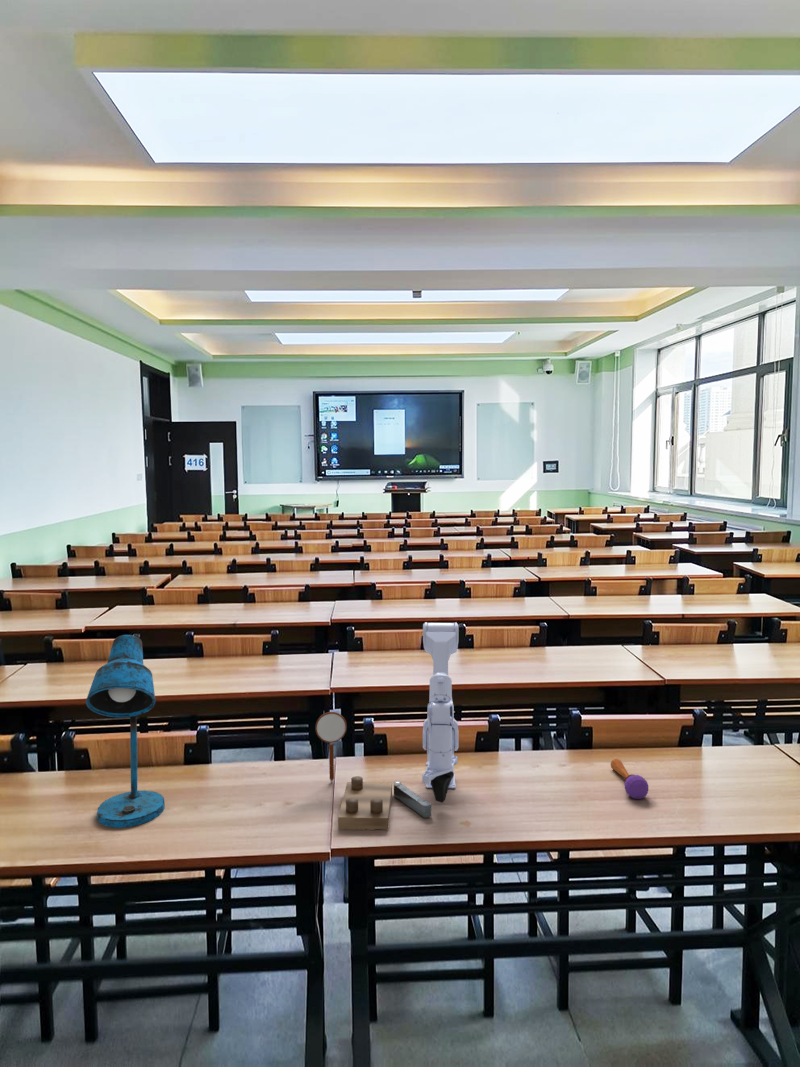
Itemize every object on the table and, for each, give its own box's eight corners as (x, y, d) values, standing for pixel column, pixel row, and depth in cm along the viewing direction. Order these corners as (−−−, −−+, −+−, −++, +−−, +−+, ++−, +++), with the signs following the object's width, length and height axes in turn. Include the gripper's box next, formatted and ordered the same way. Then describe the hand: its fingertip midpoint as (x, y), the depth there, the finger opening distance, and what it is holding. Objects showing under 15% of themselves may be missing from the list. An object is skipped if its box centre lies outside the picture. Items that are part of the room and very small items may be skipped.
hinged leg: (392, 794, 184) (392, 781, 184) (398, 792, 185) (398, 779, 185) (424, 818, 172) (424, 804, 171) (431, 815, 173) (431, 802, 172)
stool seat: (347, 792, 186) (347, 772, 186) (392, 793, 186) (392, 773, 185) (338, 829, 167) (337, 807, 167) (388, 830, 167) (387, 808, 166)
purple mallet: (628, 756, 200) (653, 782, 180) (624, 776, 200) (649, 804, 180) (608, 752, 200) (631, 777, 180) (604, 772, 200) (626, 800, 180)
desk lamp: (85, 841, 162) (76, 652, 158) (105, 798, 183) (97, 630, 179) (158, 834, 165) (151, 648, 161) (168, 792, 187) (162, 627, 182)
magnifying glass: (347, 780, 194) (346, 710, 192) (347, 782, 192) (346, 712, 190) (316, 781, 193) (315, 711, 191) (316, 784, 191) (314, 713, 189)
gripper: (441, 736, 184) (441, 785, 185) (411, 754, 171) (411, 807, 173) (464, 741, 180) (464, 792, 181) (436, 761, 168) (436, 815, 169)
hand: (440, 800), depth 177 cm, fingers closed
